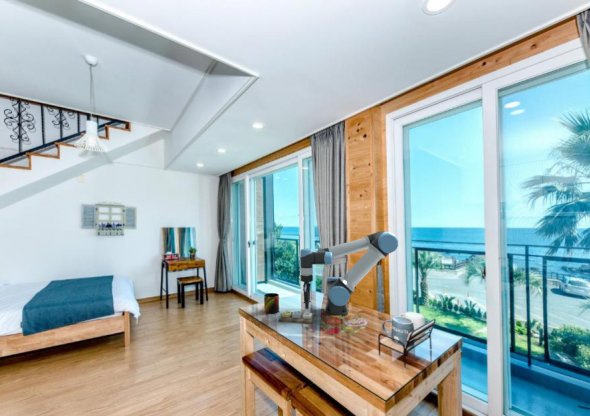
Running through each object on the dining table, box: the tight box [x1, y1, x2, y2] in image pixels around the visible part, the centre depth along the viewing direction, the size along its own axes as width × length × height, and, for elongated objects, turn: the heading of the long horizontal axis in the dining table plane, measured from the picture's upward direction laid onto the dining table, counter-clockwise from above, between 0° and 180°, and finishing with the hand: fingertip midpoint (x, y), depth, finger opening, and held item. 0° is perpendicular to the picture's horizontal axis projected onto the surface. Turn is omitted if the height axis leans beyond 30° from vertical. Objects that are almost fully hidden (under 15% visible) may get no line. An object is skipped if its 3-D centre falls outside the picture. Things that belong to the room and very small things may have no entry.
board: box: [277, 310, 316, 325], centre depth 161 cm, size 20×14×2 cm
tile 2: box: [303, 312, 313, 319], centre depth 160 cm, size 5×5×4 cm
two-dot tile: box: [292, 310, 303, 318], centre depth 161 cm, size 5×5×4 cm
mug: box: [263, 292, 280, 315], centre depth 175 cm, size 10×14×12 cm
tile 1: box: [281, 310, 293, 318], centre depth 162 cm, size 5×5×4 cm
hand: (307, 313), depth 160 cm, fingers closed
